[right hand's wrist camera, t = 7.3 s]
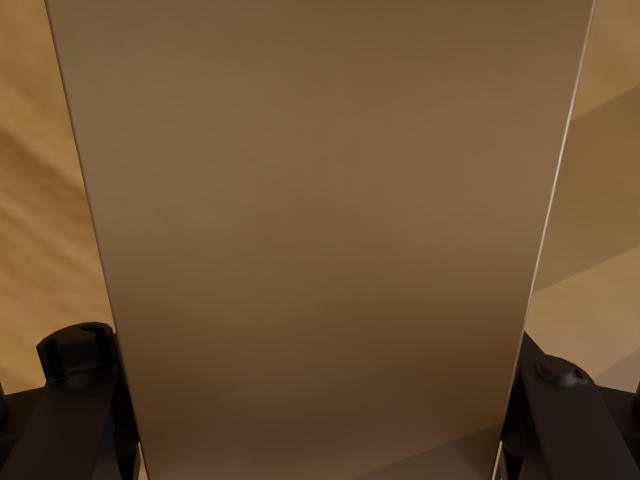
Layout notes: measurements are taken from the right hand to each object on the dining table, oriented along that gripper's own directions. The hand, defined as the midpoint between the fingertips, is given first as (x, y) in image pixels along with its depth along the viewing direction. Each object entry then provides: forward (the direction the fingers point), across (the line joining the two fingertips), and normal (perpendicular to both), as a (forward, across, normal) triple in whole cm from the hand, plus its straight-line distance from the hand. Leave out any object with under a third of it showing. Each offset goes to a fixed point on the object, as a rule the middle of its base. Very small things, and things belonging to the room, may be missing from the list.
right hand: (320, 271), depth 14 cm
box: (+1, 0, -8) cm, 8 cm away
